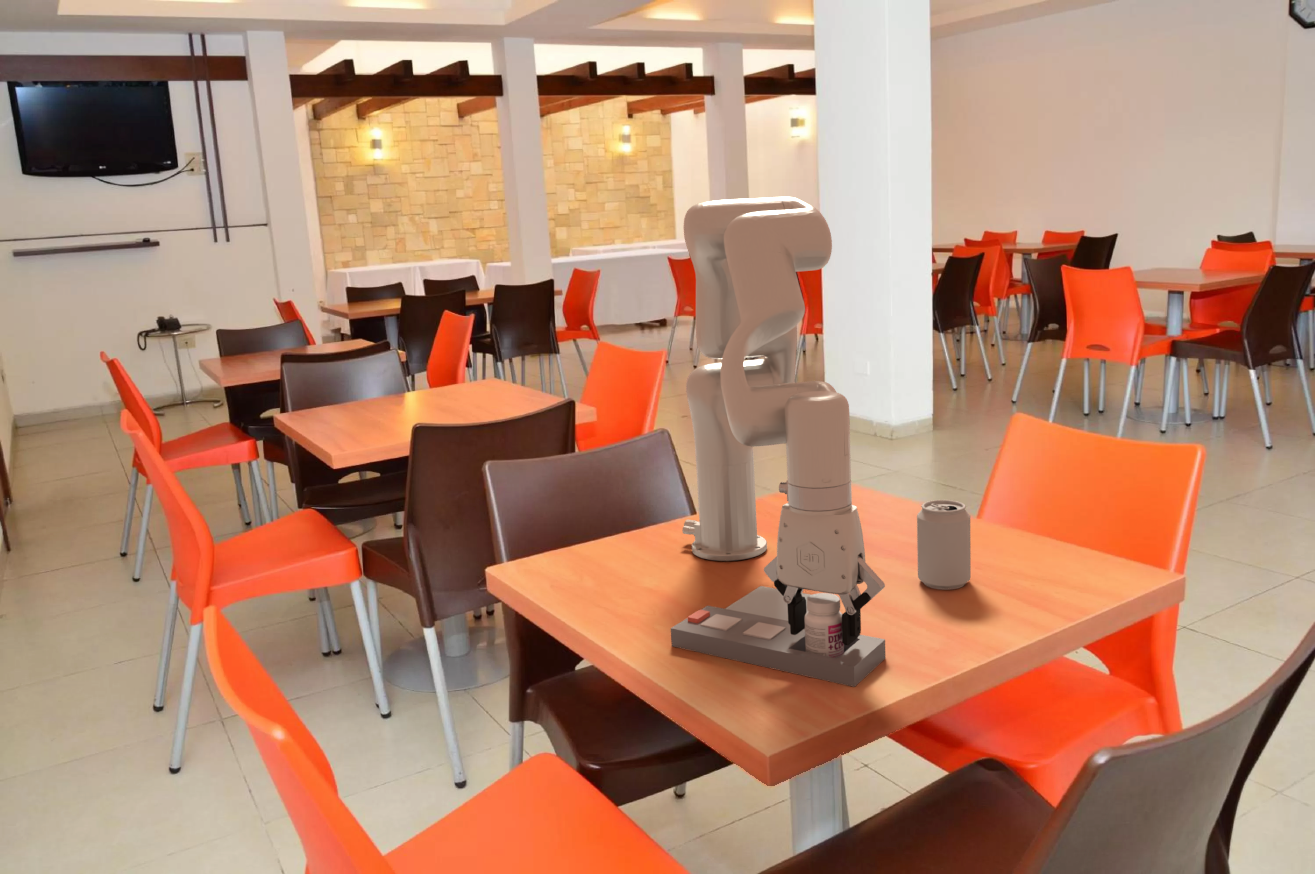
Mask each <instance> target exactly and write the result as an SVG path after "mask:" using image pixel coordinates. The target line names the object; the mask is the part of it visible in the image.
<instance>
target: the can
mask: <svg viewBox="0 0 1315 874" xmlns="http://www.w3.org/2000/svg"><path fill="white" fill-rule="evenodd" d="M920 507H921V510H920V511H919V512H917V515H916V537H917V538H916V539H917V545H916V546H917V547H916V548H917V578H918V580H919V581H920V582H921V583H923V584H924V585H925V586H926V587H927V588H931V589H936V590H945V591H946V590H956V589H960V588H963V587H964V586H965V585H966V584H967V583H968V582H969V581H971V569H972V568H971V557H972V556H971V555H972V553H971V514H970V513H969V512H968V511H967V510H966V507H967V506H966V504H965V503H963V502H961V501H957V500H951V499H935V500H930V501H929V500H928V501H925V502H924V503H922V504H921V506H920Z"/></svg>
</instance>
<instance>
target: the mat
mask: <svg viewBox="0 0 1315 874" xmlns="http://www.w3.org/2000/svg"><path fill="white" fill-rule="evenodd" d="M810 595H811V594H810V593H803V592H802V597H805V599H806V611H807V612H808V610H807V598H808V597H809V596H810ZM724 609H729V610H734V611H739V612H744V613H750V614H755V615H760V616H765V617H771V618H776V619H781V620H786V621H788V604H787V603H785V602H784V600H783V596H782V594H781V593H780V592H779V591H778V590H777V588H776V587H774V588H773V587H768V586H764V585H760V586H758V587H756V588H755V589H754V590H752V591H750V592H749V593H747V594H746V595H744V596H743V597H741V598H739V599H737V600H736V601H735V602H733V603H731V604H730V605H729V606H726V607H725V608H724Z"/></svg>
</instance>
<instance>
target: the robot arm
mask: <svg viewBox="0 0 1315 874" xmlns="http://www.w3.org/2000/svg"><path fill="white" fill-rule="evenodd" d="M683 236H684V242H685V245H686V246H685V247H686V248H687V252H688V254H689V256H690V261H691V262H692V265H693V269H694V274H695V337H696V345H697V348H698V350H699V352H700V353H701V354H702V355H703V356H704V357H707V358H709V359H713V360H721V362H712V363H707V364H703V365H700V366H698V367H696V368H695V369H693V370H692V371H691V372H690V373H689V375H688V377H687V379H686V382H685V392H686V393H685V394H686V398H687V403H688V404H687V405H688V408H689V413H690V417H691V418H690V419H691V423H692V431H693V437H694V449H695V451H694V452H695V453H694V454H695V463H696V464H695V465H696V466H695V467H696V468H695V469H696V480H697V481H696V485H697V500H698V519H699V521H697V520H695V519H693V520H692V519H686V520H685V521H684V523H683V527H682V534H684V535H693V536H694V540H693V542H692V543H691V552H692V554H693V555H695V556H696V557H698V558H701V559H705V560H710V561H717V562H719V561H720V562H732V561H742V560H748V559H752V558H754V557H755V558H756V557H757V556H760V555H762V554H763V553H764V552H766V551H767V549H768V542H767V540H766V538H764V537H763V536H761V535H758V527H757V524H758V523H757V507H756V506H757V505H756V504H757V503H756V502H757V501H756V483H755V482H756V481H755V463H754V462H755V461H754V459H755V458H754V456H755V455H754V447H764V446H765V447H766V446H774V445H783V444H785V449H786V450H785V451H786V474H787V475H786V476H787V480H786V481H784V482H783V481H781V482H780V483H779V485H778V491H779V493H781V494H785V495H786V501H787V503H784V504H783V505H782V507H781V512H780V516H779V521H778V522H779V524H778V531H777V542H776V556H775V557H774V558H773V559H772V560H771V561H770V562H768V563H767V565H766V566H764V567H763V572H764V573H765V575H766V577H768V578H769V579H770V581H771V582H773V585H774V588H775V589H777V590H778V591H779V592H780V593H781V594H782V596H783V600H784V602H785V603H787V604H788V623H789V624H790V633H791V634H793V635H796V634H798V633H799V632H801V631H802V630H803V629H805V614H806V613H807V611H806V599H805V597H802V593H803V592H804V591H805V590H806V591H813V592H817V593H818V592H819V593H830V594H834V595H837V596H838V597H839V598H840V601H841V603H842V605H843V607H844V610H845V611H844V612H843V613H842V643H844V645H848V646H849V645H850V644H851V643H852V642H853V641H855V640H856V639H857V638H858V636H859V635H861V633H862V620H861V619H862V617H861V615H862V614H861V609H862V608H863V607H864V606H866V604H868V603H869V602H871V600H873V599H874V598H875V597H876V596H877V595H878V594H879V593H880V592H882V590H884V588H885V587H886V584H885V582H884V581H883V580H882V578H880V577H879V575H878V574H877V573H875V571H874V570H873V569H872V568H871V566H869V564H868V563H867V562H866V551H865V543H864V534H863V529H862V523H861V519H860V515H859V514H860V513H859V511H858V507H857V506H856V505H853V503H852V502H853V499H852V498H853V497H852V493H853V492H852V491H853V490H852V469H851V468H852V466H851V465H852V464H851V430H850V429H851V424H850V420H851V419H850V404H849V401H848V399H847V398H846V396H844V395H843V394H842V393H839V392H837V391H836V389H835V388H834V386H833V385H831V384H830V383H828V382H827V381H822V380H810V381H797V382H795V379H796V378H795V377H796V359H797V343H798V341H797V340H798V335H797V334H798V330H797V329H798V328H797V326H798V325H799V323H800V322H801V321H802V320H803V318H804V315H805V313H806V306H805V301H804V298H803V294H802V291H801V287H800V284H799V280H798V276H797V272H808V271H818V270H821V269H823V268H824V267H826V266H827V264H828V263H829V261H830V259H831V256H832V252H833V250H832V249H833V240H832V234H831V230H830V227H829V224H828V222H827V220H826V218H825V217H824V215H823V213H822V212H820V210H819V209H817V208H816V207H814V206H813V205H811V204H810V203H808V202H805V201H803V200H802V199H800V198H797V197H793V196H773V197H772V196H770V197H767V196H766V197H755V198H751V197H750V198H731V199H730V198H729V199H719V200H709V201H703V202H699V203H695V204H693V205H692V206H691V207H689V209H688V210H686V213H685V215H684V219H683ZM755 357H756V358H757V357H763V358H760V359H748V360H747V359H746V358H755ZM863 583H865V584H866V587H867V588H866V589H865V590H864V591H863V592H862V593H861V590H860V588H859V587H858V585H860V584H863Z"/></svg>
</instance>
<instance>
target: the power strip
mask: <svg viewBox="0 0 1315 874" xmlns="http://www.w3.org/2000/svg"><path fill="white" fill-rule="evenodd" d="M670 636H671V637H670V639H671V647H675V648H678V649H682V650H687V651H693V652H696V653H701V654H706V655H710V656H715V657H718V658H724V659H727V660H728V659H729V660H732V661H737V662H741V663H746V664H750V665H754V666H755V665H756V666H758V667H759V666H760V667H764V668H769V669H774V670H778V671H781V672H782V671H783V672H786V673H791V674H795V675H801V676H805V677H808V678H814V679H818V680H823V681H828V682H831V683H837V684H840V685H844V686H850V687H854V688H855V687H856V686H857V685H858V684H859V683H861V682H862V681H863V680H864V679H865V678H866V677H867V676H868V675H869V674H870V673H871V672H872V671H874V670H875V669H876V668H877V667H878V666H879V665H880V664H882V662H883V661H884V660H885V659H886V639H885V638H880V637H875V636H869V635H864V634H860V635H859V636H858V638H857V639H856V640H855V641H853V642H852V643H851V644H850V645H849V646H848V645H844V653H843V654H842V655H841V656H839V657H838V658H833V657H828V656H823V655H818V654H813V653H809V652H806V646H805V629H803V630H802V631H801V632H799V633H798V634H796V635H793V634H791V633H790V624H789V623H788V621H786V620H781V619H776V618H771V617H765V616H760V615H755V614H750V613H744V612H739V611H734V610H729V609H725V608H722V607H718V606H712V605H706V606H705V607H703V608H701V609H698V610H697V611H695V612H693V613H692V614H690V615H688V616H687V617H686V618H684V619H683V620H681V622H679V623H677V624H674V626H672V627H671V628H670Z"/></svg>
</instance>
